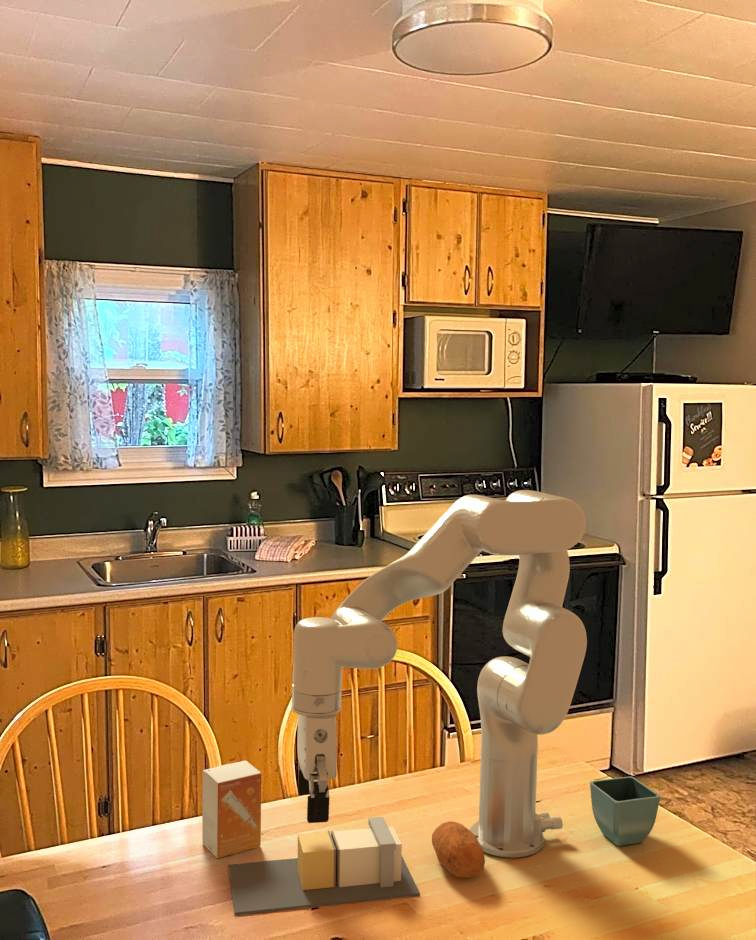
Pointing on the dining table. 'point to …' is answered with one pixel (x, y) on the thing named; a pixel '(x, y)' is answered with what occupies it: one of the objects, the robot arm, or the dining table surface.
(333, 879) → the stub
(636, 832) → the flower pot
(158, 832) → the dining table surface
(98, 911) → the dining table surface
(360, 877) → the two-tone stepped block
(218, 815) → the small box
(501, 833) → the robot arm
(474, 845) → the potato
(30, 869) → the dining table surface
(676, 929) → the dining table surface
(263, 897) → the mat
